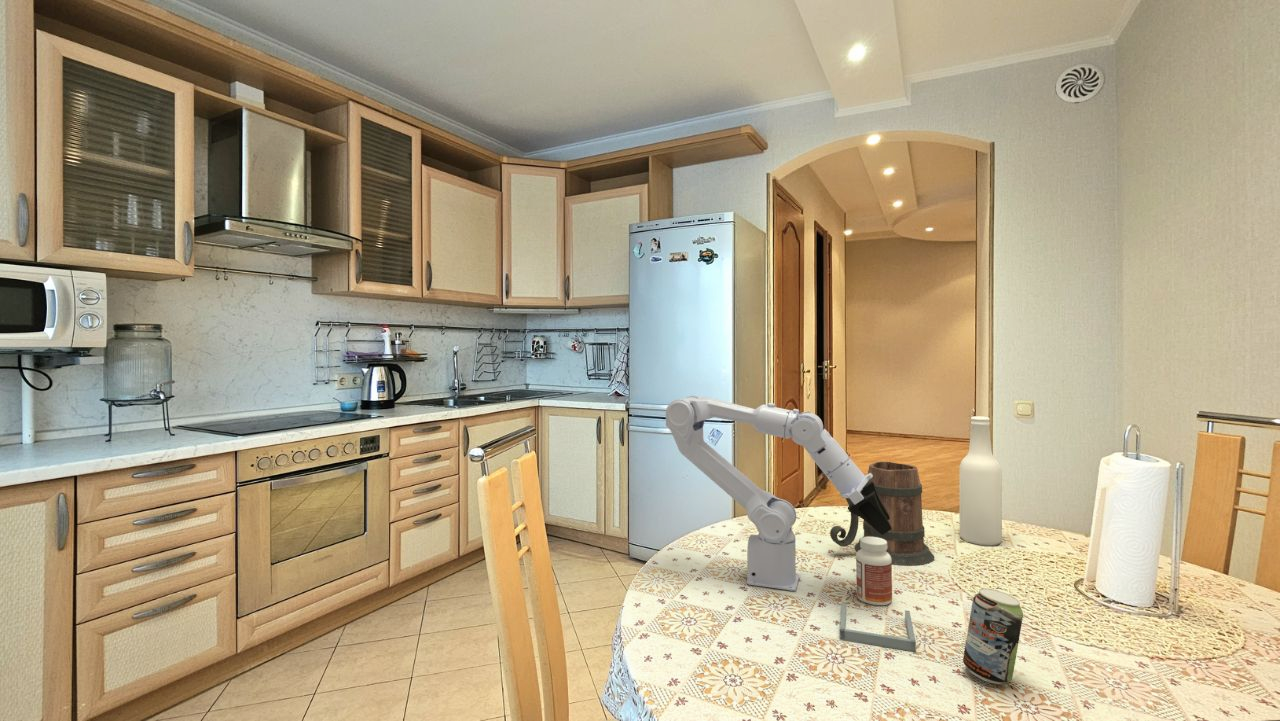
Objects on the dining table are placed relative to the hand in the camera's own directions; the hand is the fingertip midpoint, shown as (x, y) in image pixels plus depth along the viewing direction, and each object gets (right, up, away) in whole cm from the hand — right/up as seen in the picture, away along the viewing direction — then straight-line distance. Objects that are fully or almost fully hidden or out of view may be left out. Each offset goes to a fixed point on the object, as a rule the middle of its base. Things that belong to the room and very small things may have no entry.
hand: (886, 526), depth 104 cm
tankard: (+9, -13, +24) cm, 29 cm away
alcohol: (+37, -13, +31) cm, 50 cm away
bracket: (-7, -14, -11) cm, 19 cm away
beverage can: (+4, -14, -25) cm, 29 cm away
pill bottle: (-2, -14, 0) cm, 14 cm away
